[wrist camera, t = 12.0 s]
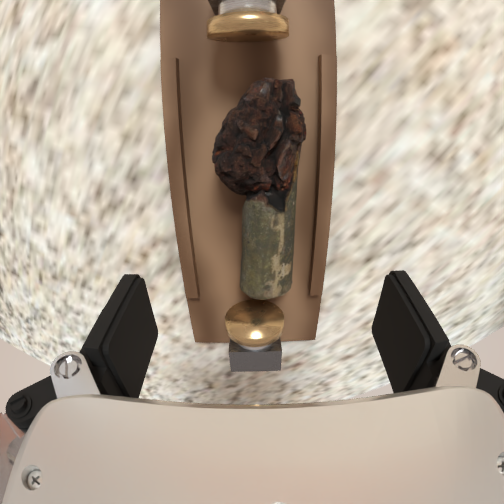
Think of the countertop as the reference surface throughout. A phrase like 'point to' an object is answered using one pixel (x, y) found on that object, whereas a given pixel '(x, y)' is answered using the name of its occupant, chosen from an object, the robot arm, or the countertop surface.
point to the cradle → (203, 170)
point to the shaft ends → (251, 311)
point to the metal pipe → (264, 180)
